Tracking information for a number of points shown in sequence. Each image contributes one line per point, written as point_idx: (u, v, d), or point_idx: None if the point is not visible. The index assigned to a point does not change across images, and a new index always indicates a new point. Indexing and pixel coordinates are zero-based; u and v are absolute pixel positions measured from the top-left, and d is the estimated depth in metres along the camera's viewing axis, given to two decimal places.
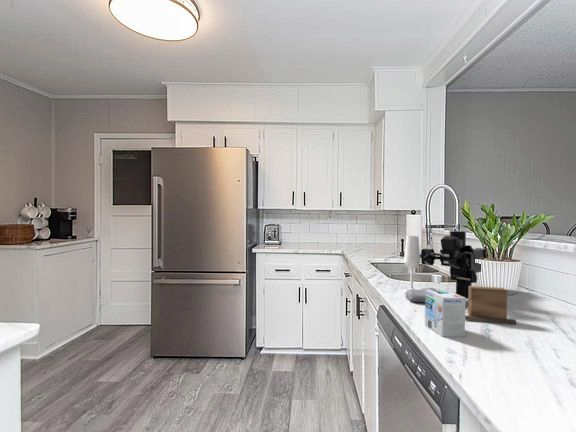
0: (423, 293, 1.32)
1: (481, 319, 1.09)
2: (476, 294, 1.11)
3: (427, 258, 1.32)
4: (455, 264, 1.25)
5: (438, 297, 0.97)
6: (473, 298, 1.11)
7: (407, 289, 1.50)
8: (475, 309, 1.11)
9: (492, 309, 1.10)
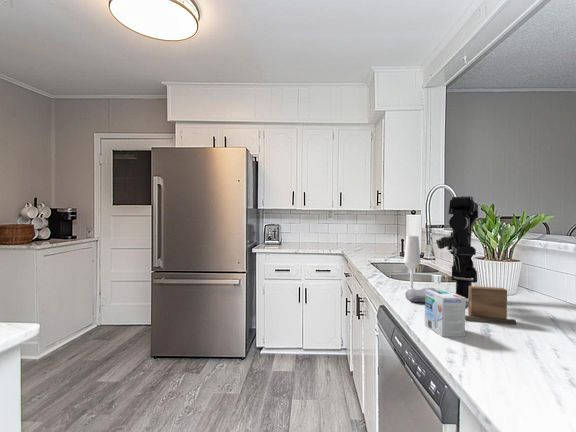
0: (423, 293, 1.32)
1: (481, 319, 1.09)
2: (476, 294, 1.11)
3: (458, 263, 1.34)
4: (465, 265, 1.28)
5: (438, 297, 0.97)
6: (473, 298, 1.11)
7: (407, 289, 1.50)
8: (475, 309, 1.11)
9: (492, 309, 1.10)
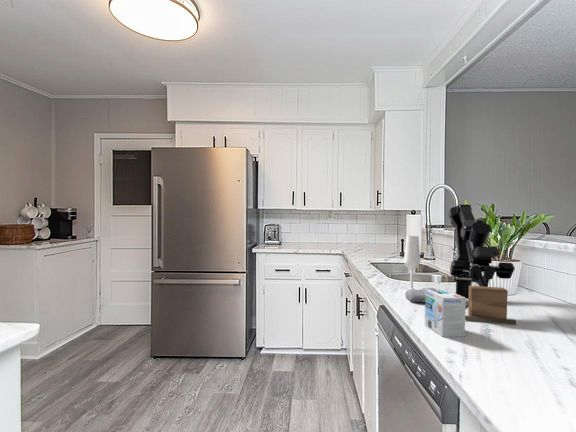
0: (423, 293, 1.32)
1: (481, 319, 1.09)
2: (476, 294, 1.11)
3: None
4: None
5: (438, 297, 0.97)
6: (473, 298, 1.11)
7: (407, 289, 1.50)
8: (475, 309, 1.11)
9: (493, 309, 1.10)
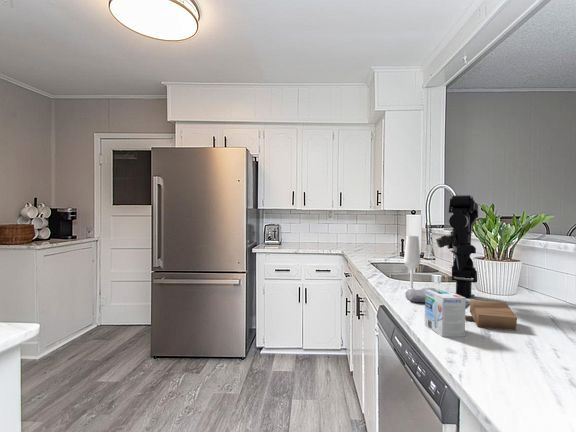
0: (423, 293, 1.32)
1: None
2: None
3: None
4: (464, 262, 1.30)
5: (438, 297, 0.97)
6: None
7: (407, 289, 1.50)
8: None
9: None
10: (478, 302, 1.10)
